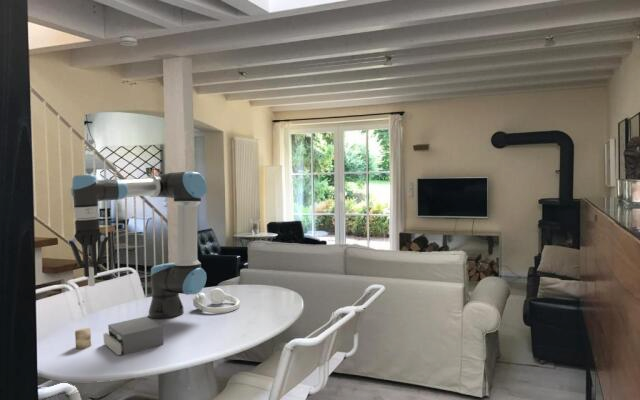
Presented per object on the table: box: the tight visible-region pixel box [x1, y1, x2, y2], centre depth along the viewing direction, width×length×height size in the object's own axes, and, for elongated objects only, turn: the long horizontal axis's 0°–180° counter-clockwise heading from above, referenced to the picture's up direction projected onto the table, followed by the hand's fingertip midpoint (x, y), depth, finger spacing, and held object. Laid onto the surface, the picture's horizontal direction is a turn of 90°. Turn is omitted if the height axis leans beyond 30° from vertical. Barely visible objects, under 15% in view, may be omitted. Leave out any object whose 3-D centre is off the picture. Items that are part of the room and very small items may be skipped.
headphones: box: [192, 287, 241, 314], centre depth 214 cm, size 20×8×20 cm
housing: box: [107, 316, 164, 356], centre depth 168 cm, size 14×17×7 cm
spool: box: [74, 327, 92, 350], centre depth 167 cm, size 5×5×6 cm
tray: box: [103, 332, 123, 356], centre depth 167 cm, size 14×17×4 cm
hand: (91, 285), depth 159 cm, fingers closed
